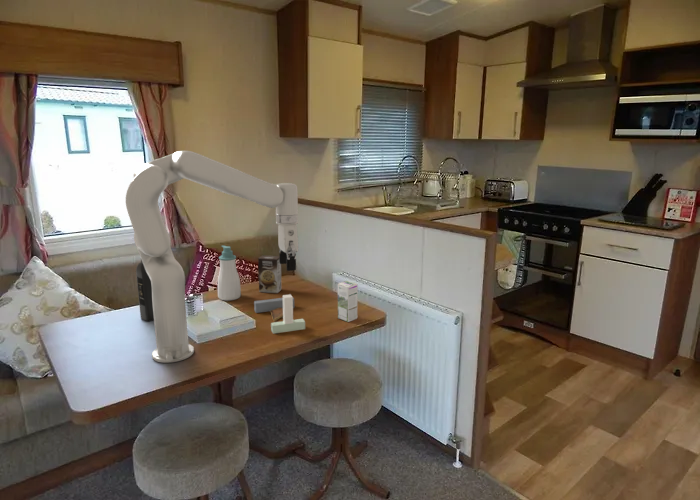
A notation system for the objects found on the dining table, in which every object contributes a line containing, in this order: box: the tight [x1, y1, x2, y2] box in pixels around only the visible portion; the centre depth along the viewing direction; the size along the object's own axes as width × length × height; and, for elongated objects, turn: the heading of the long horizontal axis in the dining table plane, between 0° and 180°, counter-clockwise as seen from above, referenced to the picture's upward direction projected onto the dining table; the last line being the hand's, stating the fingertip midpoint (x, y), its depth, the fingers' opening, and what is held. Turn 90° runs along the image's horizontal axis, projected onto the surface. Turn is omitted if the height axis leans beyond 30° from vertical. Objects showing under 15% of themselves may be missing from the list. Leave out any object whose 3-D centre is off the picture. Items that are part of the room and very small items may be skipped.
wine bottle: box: [135, 259, 154, 322], centre depth 172 cm, size 6×6×30 cm
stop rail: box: [253, 297, 295, 314], centre depth 186 cm, size 3×16×4 cm, turn 113°
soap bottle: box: [217, 245, 242, 301], centre depth 198 cm, size 10×10×23 cm
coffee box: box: [257, 254, 282, 294], centre depth 208 cm, size 9×6×16 cm
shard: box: [269, 308, 283, 322], centre depth 180 cm, size 11×8×2 cm
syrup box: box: [337, 280, 359, 323], centre depth 176 cm, size 6×6×14 cm
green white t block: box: [270, 293, 306, 335], centre depth 165 cm, size 12×3×13 cm, turn 112°
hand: (287, 266), depth 161 cm, fingers open, 9 cm apart
